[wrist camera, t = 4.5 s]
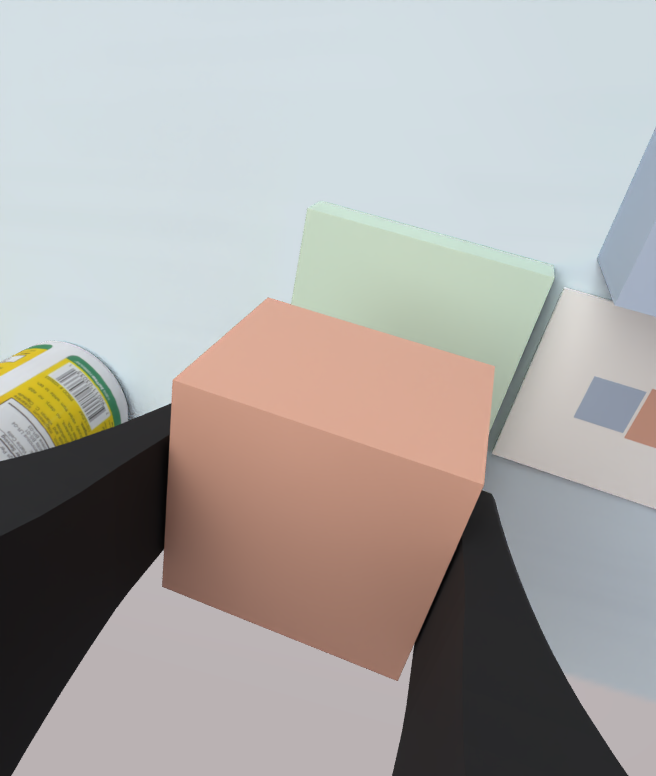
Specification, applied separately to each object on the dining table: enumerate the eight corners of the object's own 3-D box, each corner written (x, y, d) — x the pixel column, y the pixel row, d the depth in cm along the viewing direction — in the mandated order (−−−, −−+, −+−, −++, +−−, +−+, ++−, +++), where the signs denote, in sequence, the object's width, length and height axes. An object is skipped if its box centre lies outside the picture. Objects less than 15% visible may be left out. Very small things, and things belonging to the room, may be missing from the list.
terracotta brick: (495, 366, 12) (483, 484, 8) (427, 537, 14) (397, 681, 11) (267, 297, 12) (172, 380, 9) (243, 472, 15) (162, 586, 12)
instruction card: (790, 350, 15) (792, 353, 15) (675, 513, 18) (677, 516, 18) (564, 286, 16) (564, 288, 16) (492, 451, 19) (492, 454, 19)
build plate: (553, 265, 16) (554, 277, 15) (473, 457, 20) (470, 478, 19) (320, 201, 17) (307, 208, 16) (285, 393, 21) (273, 409, 20)
